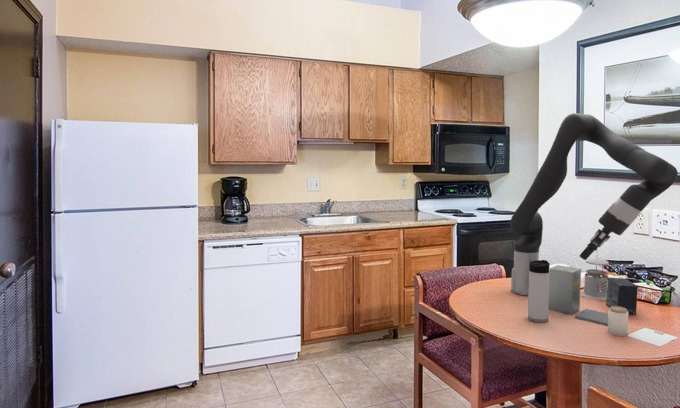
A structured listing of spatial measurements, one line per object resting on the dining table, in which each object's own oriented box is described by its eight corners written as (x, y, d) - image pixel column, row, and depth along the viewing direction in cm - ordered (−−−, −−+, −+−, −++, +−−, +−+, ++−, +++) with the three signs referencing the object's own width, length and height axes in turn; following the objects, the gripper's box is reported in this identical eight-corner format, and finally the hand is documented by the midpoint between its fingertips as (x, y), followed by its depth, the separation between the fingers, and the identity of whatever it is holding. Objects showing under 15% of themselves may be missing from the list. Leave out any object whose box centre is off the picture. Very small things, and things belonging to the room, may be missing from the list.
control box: (547, 308, 160) (548, 268, 159) (555, 304, 165) (556, 264, 163) (572, 314, 154) (573, 272, 152) (580, 310, 158) (581, 269, 157)
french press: (576, 294, 176) (578, 232, 173) (591, 289, 182) (594, 229, 180) (601, 301, 168) (604, 236, 165) (617, 295, 174) (620, 232, 171)
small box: (637, 315, 152) (639, 285, 151) (616, 314, 154) (618, 285, 153) (624, 305, 163) (626, 277, 162) (605, 304, 164) (606, 277, 163)
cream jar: (605, 332, 138) (606, 308, 137) (610, 328, 141) (611, 304, 141) (624, 337, 134) (625, 312, 133) (629, 332, 138) (630, 308, 137)
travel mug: (552, 319, 150) (554, 261, 148) (541, 324, 146) (542, 264, 144) (535, 314, 155) (536, 258, 153) (524, 318, 151) (525, 261, 149)
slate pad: (574, 317, 151) (574, 315, 151) (586, 310, 157) (586, 308, 157) (607, 325, 143) (607, 323, 143) (617, 318, 150) (618, 315, 150)
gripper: (609, 207, 144) (576, 245, 150) (606, 210, 132) (570, 251, 138) (631, 222, 141) (596, 260, 147) (630, 226, 129) (592, 267, 135)
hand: (583, 256), depth 142 cm, fingers open, 8 cm apart
